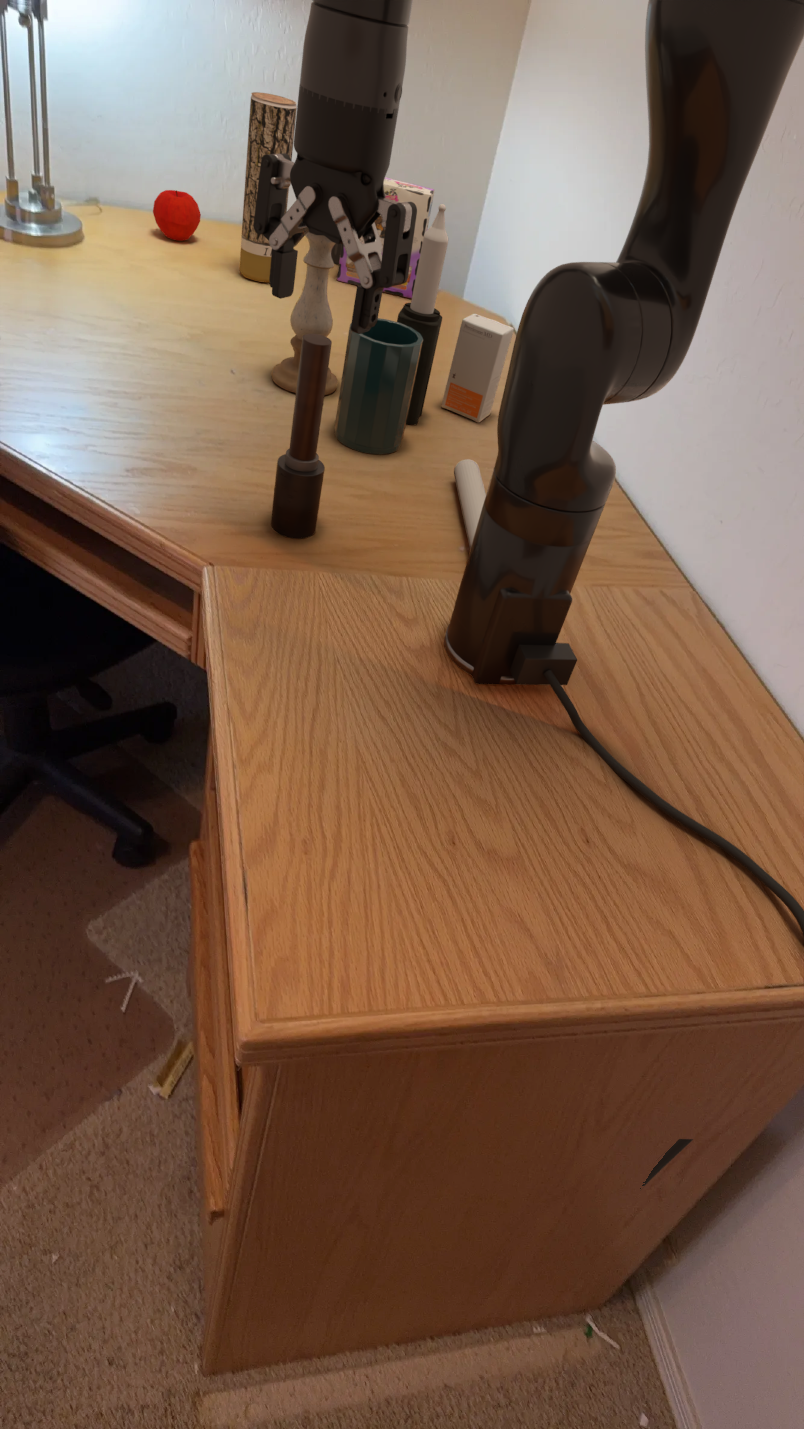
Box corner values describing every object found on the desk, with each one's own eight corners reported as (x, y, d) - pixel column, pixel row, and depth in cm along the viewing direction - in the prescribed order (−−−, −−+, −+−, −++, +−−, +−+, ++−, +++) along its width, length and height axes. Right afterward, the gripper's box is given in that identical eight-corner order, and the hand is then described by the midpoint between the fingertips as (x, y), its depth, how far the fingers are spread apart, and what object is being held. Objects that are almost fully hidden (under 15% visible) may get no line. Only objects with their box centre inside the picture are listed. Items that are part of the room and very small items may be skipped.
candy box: (416, 291, 157) (436, 188, 147) (412, 300, 153) (432, 194, 142) (342, 272, 157) (356, 167, 146) (335, 280, 153) (349, 173, 142)
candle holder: (260, 383, 115) (275, 211, 101) (286, 363, 121) (304, 199, 108) (322, 403, 114) (346, 232, 100) (345, 382, 120) (370, 219, 107)
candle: (415, 426, 114) (461, 214, 98) (378, 416, 114) (417, 202, 98) (422, 412, 118) (467, 205, 101) (386, 402, 118) (425, 194, 102)
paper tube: (232, 275, 144) (243, 93, 128) (249, 266, 149) (262, 90, 133) (270, 287, 143) (286, 105, 127) (286, 277, 149) (303, 102, 132)
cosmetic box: (439, 407, 120) (460, 318, 112) (452, 399, 123) (473, 311, 115) (479, 424, 119) (503, 334, 111) (491, 415, 122) (515, 327, 114)
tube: (505, 606, 87) (475, 484, 105) (514, 580, 84) (481, 460, 103) (476, 602, 86) (451, 480, 104) (484, 576, 84) (457, 456, 102)
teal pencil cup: (407, 457, 107) (430, 350, 98) (340, 451, 104) (357, 341, 96) (393, 426, 113) (414, 322, 104) (329, 419, 110) (345, 313, 102)
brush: (318, 540, 89) (346, 352, 76) (273, 537, 88) (294, 346, 75) (312, 516, 92) (338, 332, 80) (268, 513, 91) (288, 326, 78)
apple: (185, 230, 157) (186, 183, 153) (208, 245, 154) (210, 198, 149) (144, 230, 153) (144, 182, 148) (167, 245, 149) (168, 197, 144)
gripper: (243, 62, 65) (229, 291, 75) (402, 117, 61) (363, 352, 71) (305, 65, 70) (283, 279, 81) (455, 116, 66) (411, 335, 76)
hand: (321, 313), depth 76 cm, fingers open, 8 cm apart
